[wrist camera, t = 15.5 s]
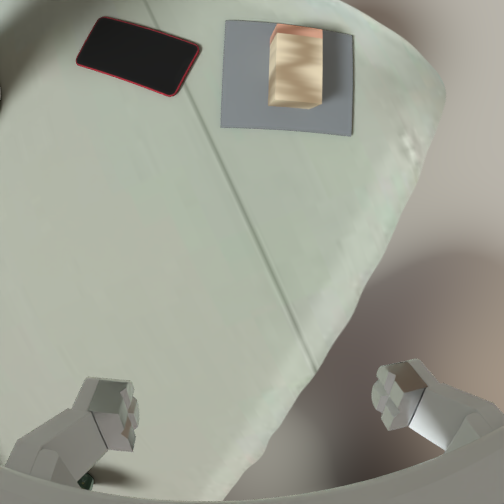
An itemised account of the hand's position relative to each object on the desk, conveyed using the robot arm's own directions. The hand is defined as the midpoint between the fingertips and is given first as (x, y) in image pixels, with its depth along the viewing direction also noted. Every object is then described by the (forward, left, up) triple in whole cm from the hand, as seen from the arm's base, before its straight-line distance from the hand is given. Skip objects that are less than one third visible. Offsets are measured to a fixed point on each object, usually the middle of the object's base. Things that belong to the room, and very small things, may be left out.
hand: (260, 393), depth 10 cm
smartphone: (-12, +20, -32) cm, 39 cm away
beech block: (+7, +13, -28) cm, 32 cm away
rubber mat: (+7, +17, -31) cm, 36 cm away
